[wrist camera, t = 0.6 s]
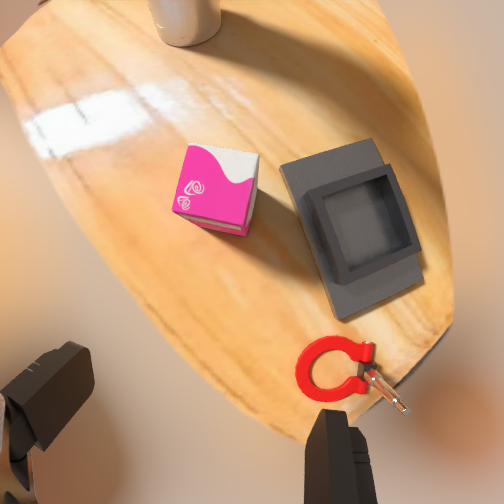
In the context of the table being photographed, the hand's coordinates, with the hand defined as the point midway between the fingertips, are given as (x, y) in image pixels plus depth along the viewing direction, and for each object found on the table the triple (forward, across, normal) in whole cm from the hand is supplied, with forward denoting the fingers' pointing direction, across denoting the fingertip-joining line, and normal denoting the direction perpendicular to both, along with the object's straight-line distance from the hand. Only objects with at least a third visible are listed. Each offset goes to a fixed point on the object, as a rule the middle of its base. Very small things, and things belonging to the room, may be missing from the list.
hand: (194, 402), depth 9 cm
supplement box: (+26, +5, -2) cm, 27 cm away
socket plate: (+27, -10, -3) cm, 29 cm away
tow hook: (+23, -11, +13) cm, 29 cm away
